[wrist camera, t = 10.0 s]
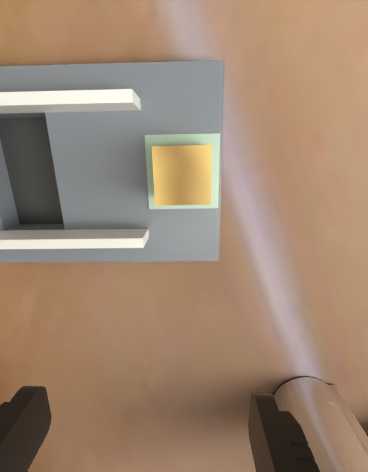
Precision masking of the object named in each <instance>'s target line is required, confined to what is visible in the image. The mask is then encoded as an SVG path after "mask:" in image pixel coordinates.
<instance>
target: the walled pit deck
mask: <svg viewBox="0 0 368 472" xmlns="http://www.w3.org/2000/svg"><path fill="white" fill-rule="evenodd" d="M223 93H224V60H208V61H172V62H136V63H100V64H64V65H28V66H0V263H42V262H151V261H219V240H220V203H221V166H222V130H223ZM185 145H212V149H211V205H165V206H155V197H154V180H153V163H152V146H185Z"/></svg>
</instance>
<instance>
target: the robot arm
mask: <svg viewBox="0 0 368 472" xmlns="http://www.w3.org/2000/svg"><path fill="white" fill-rule="evenodd" d="M50 423H51V412H50V407H49V402H48V397H47V392H46V388H45V387H42V386H23V387H22V388H20V389H19V390H18V392H17V393H16V394H15V396H14V397H13V398H12V399H11V401H10V402H4V403H3V404H1V405H0V472H27V470H28V469H29V467H30V465H31V463H32V461H33V459H34V457H35V456H36V454H37V452H38V450H39V448H40V446H41V444H42V443H43V441H44V439H45V437H46V435H47V433H48V430H49V427H50ZM248 427H249V438H250V444H251V449H252V453H253V458H254V463H255V468H256V472H368V436H367V435H366V433H365V432H364V430H363V428H362V427H361V425H360V424H359V422H358V421H357V419H356V418H355V416H354V414H353V413H352V411H351V410H350V408H349V407H348V405H347V404H346V402H345V401H344V399H343V397H342V396H341V394H340V393H339V391H338V390H337V388H336V387H335V385H328V384H326V383H324V382H323V381H321V380H319V379H316V378H311V377H302V378H296V379H293V380H290V381H288V382H286V383H284V384H283V385H282V386H280V387H279V389H278V390H277V391H276V392H275V394H274V396H273V394H271V393H252V394H251V401H250V411H249V422H248Z"/></svg>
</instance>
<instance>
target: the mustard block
mask: <svg viewBox="0 0 368 472" xmlns="http://www.w3.org/2000/svg"><path fill="white" fill-rule="evenodd" d="M211 149H212V145H185V146H152V163H153V180H154V197H155V206H165V205H211Z"/></svg>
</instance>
